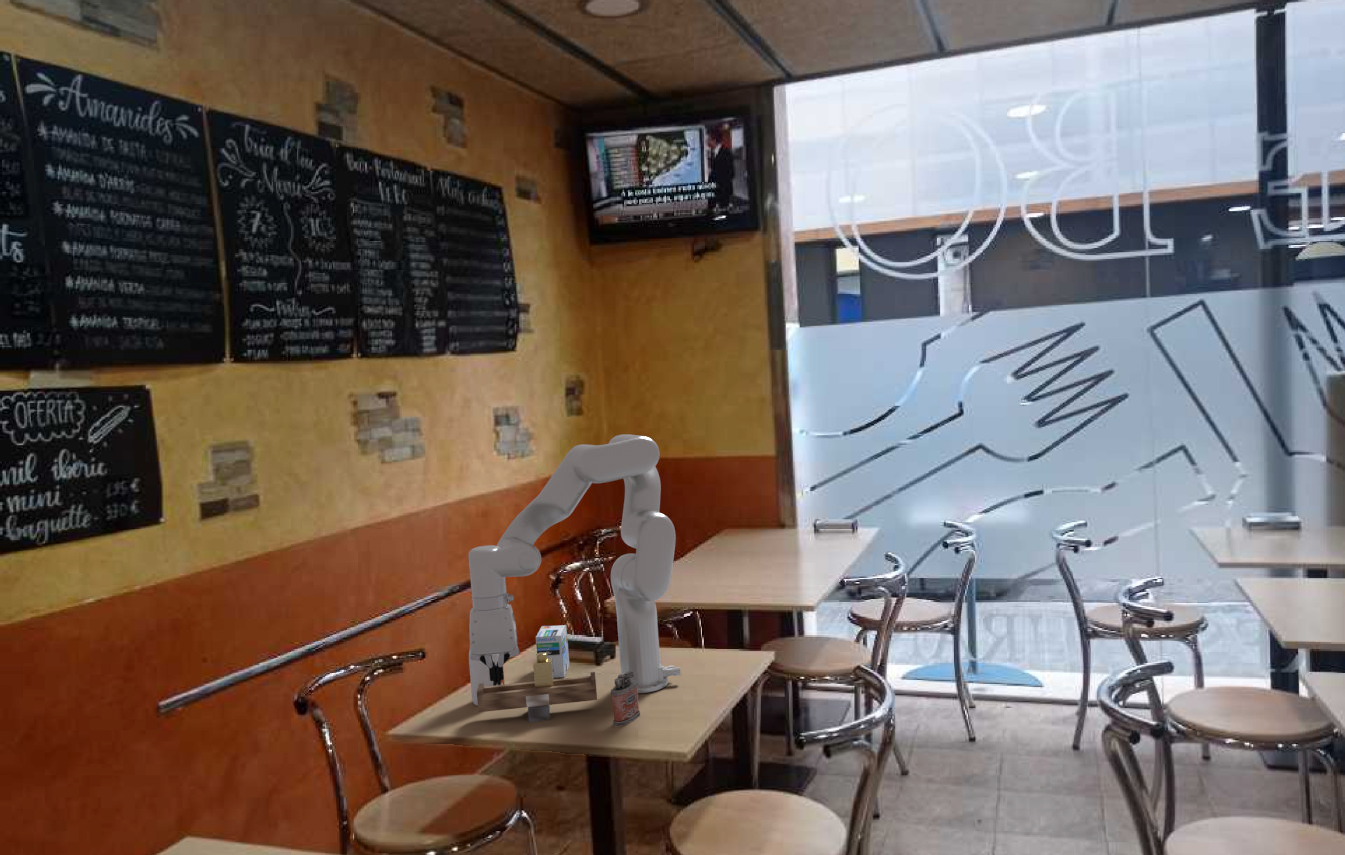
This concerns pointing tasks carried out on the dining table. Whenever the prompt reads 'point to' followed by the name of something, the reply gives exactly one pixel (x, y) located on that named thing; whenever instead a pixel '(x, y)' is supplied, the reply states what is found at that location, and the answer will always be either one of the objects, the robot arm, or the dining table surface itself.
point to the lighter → (625, 699)
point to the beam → (536, 696)
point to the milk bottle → (480, 675)
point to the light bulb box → (554, 647)
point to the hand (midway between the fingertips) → (497, 683)
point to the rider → (543, 671)
